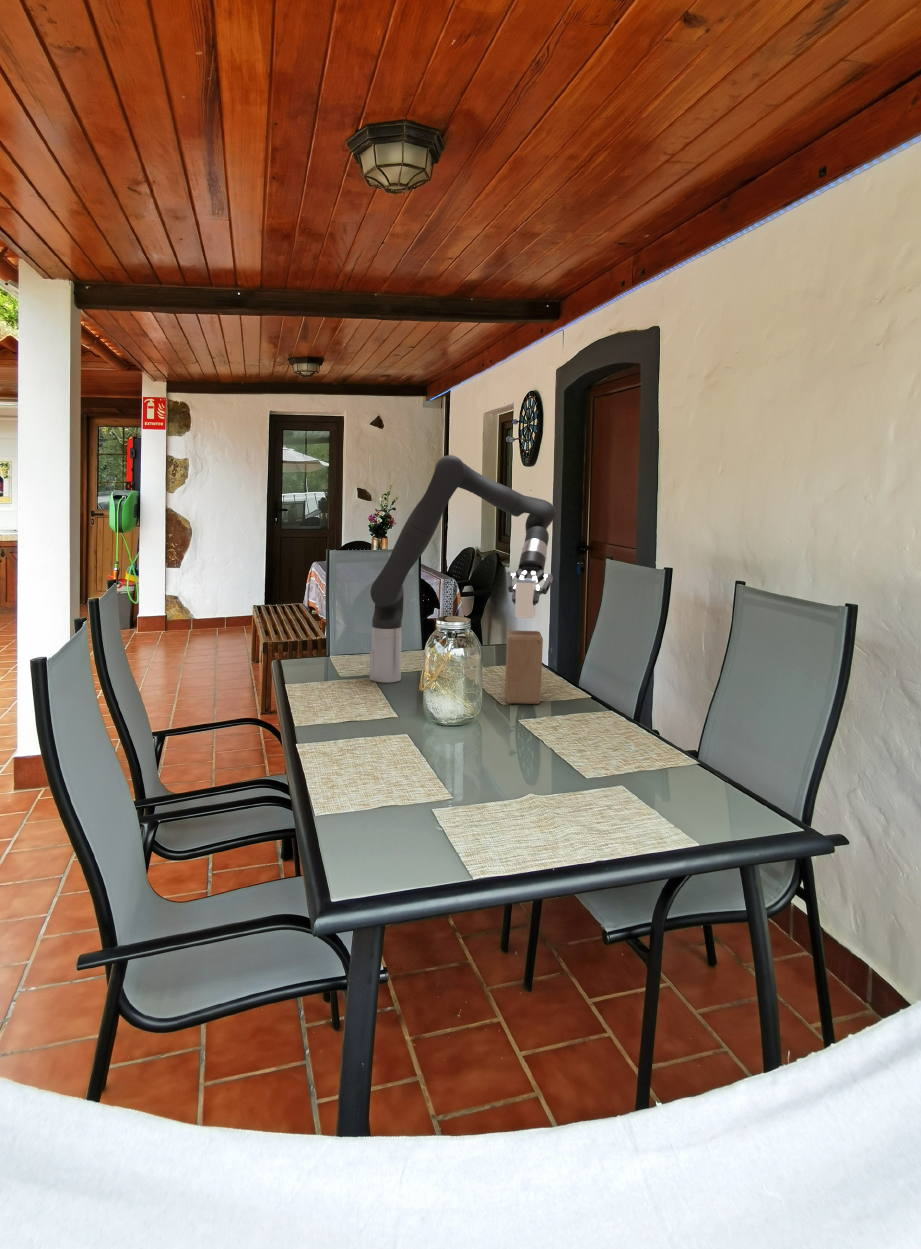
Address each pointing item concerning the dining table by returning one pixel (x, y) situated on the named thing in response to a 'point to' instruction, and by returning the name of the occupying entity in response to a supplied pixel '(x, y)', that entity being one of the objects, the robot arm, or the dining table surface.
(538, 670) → the wooden block
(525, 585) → the beige upright block
